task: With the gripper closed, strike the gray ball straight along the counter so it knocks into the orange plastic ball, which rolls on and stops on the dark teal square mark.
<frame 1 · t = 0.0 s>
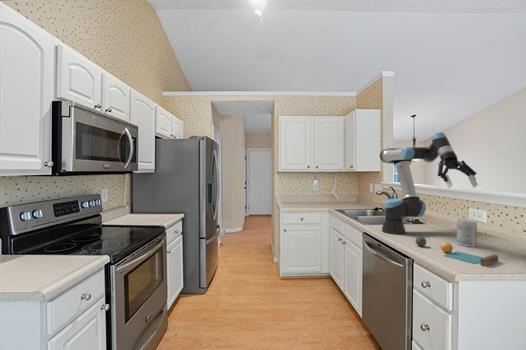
hand: (463, 186, 144), 36 cm above the countertop, tool tilted 35°, fingers open, 13 cm apart
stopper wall: (489, 263, 129), on the countertop
gray ball: (420, 241, 158), on the countertop
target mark: (465, 257, 138), on the countertop
object ball: (446, 247, 146), on the countertop
supplement tub: (466, 245, 160), on the countertop
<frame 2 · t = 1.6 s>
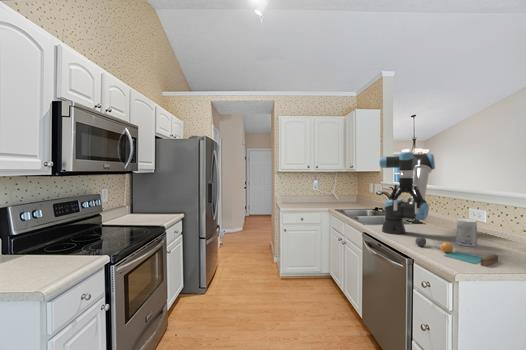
hand: (405, 211, 166), 19 cm above the countertop, tool pointing down, fingers open, 13 cm apart
nothing on the countertop moved.
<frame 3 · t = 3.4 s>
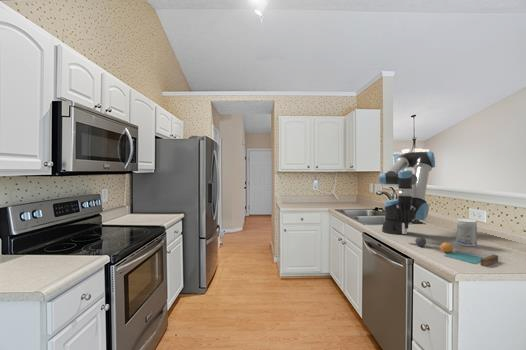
hand: (404, 233, 166), 5 cm above the countertop, tool pointing down, fingers closed
nothing on the countertop moved.
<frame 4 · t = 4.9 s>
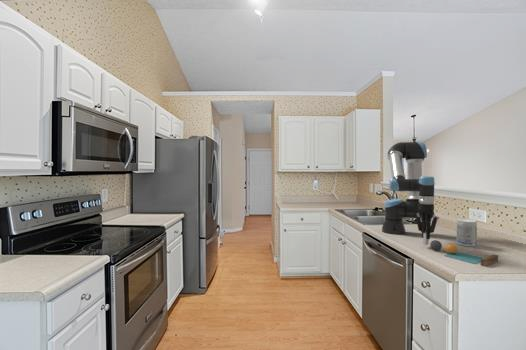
hand: (425, 244, 155), 2 cm above the countertop, tool pointing down, fingers closed
gray ball: (435, 245, 150), on the countertop
object ball: (451, 248, 144), on the countertop
everything else where it was.
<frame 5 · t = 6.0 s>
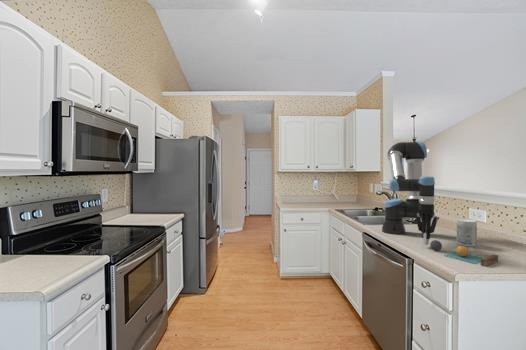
hand: (425, 244, 156), 2 cm above the countertop, tool pointing down, fingers closed
object ball: (462, 251, 139), on the countertop
everything else where it was.
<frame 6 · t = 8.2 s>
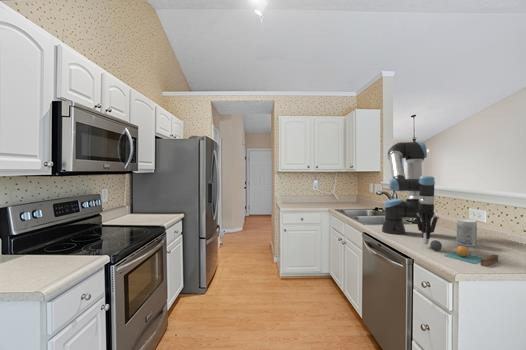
hand: (425, 243, 156), 2 cm above the countertop, tool pointing down, fingers closed
nothing on the countertop moved.
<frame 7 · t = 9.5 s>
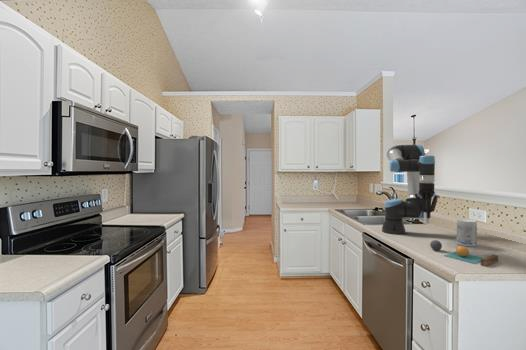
hand: (426, 223, 155), 14 cm above the countertop, tool pointing down, fingers closed
nothing on the countertop moved.
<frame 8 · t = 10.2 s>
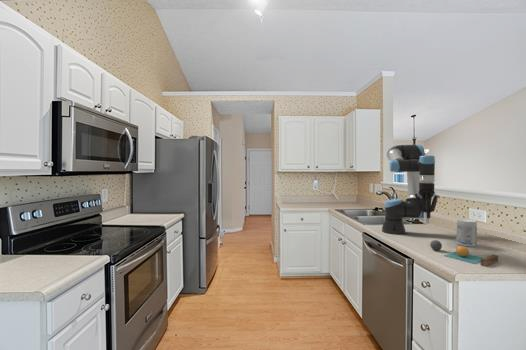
hand: (426, 223, 155), 14 cm above the countertop, tool pointing down, fingers closed
nothing on the countertop moved.
at the end: object ball 1.5 cm from the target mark (horizontally); object ball never touched the robot; gray ball first touched object ball at 4.7 s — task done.
